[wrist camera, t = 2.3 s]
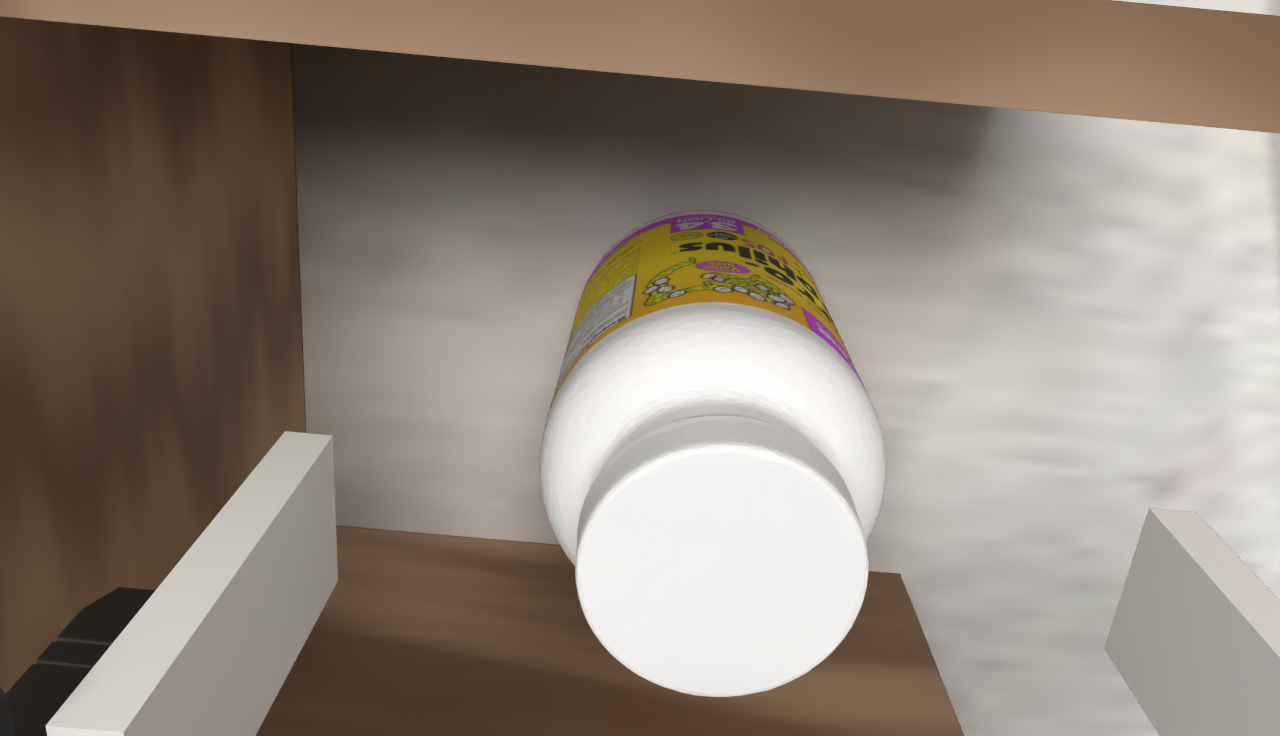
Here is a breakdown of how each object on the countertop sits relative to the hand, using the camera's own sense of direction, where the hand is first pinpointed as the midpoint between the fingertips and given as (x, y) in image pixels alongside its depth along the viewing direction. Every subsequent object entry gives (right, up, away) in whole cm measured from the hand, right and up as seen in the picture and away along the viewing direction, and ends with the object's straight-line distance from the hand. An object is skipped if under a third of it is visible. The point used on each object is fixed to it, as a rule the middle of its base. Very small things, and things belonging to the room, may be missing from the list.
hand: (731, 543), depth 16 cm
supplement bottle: (0, +4, +12) cm, 12 cm away
